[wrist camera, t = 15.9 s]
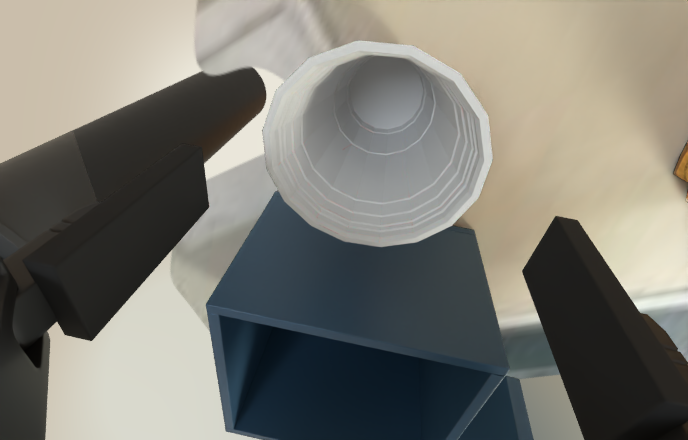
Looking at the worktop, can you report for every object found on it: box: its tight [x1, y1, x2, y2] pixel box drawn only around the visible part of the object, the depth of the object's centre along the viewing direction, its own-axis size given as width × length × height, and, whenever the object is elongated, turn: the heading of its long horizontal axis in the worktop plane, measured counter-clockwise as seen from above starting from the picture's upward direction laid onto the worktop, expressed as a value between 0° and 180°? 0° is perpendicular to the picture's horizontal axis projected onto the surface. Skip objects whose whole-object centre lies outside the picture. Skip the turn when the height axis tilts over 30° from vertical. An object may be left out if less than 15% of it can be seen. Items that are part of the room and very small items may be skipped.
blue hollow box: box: [206, 191, 510, 440], centre depth 31 cm, size 19×18×14 cm
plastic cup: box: [262, 40, 493, 247], centre depth 21 cm, size 11×11×12 cm
